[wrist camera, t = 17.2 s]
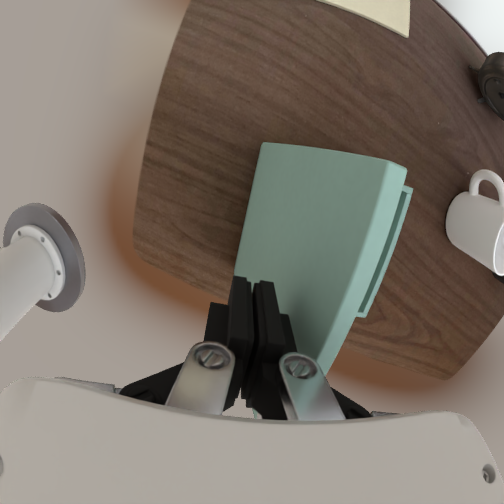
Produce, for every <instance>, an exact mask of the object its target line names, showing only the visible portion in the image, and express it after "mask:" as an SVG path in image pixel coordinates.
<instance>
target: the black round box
mask: <svg viewBox="0 0 504 504" xmlns="http://www.w3.org/2000/svg"><path fill="white" fill-rule="evenodd" d="M492 273H493V275H494V277H495V278H497V279H498V280H499V281H501V282H502V283H504V275H503V276H500V275H497V274H496V273H495V272H493V271H492Z"/></svg>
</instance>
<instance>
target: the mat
mask: <svg viewBox="0 0 504 504" xmlns="http://www.w3.org/2000/svg"><path fill="white" fill-rule="evenodd" d="M317 1H320V2H323V3H326V4H330V5H332V6H335V7H338V8H341V9H344V10H346V11H349V12H351V13H354V14H356V15H359V16H361V17H364V18H366V19H368V20H371V21H373V22H375V23H377V24H379V25H381V26H383V27H385V28H388V29H390V30H391V31H393V32H395V33H397V34H399V35H401V36H403V37H405V38H408V37H409V20H410V0H317Z"/></svg>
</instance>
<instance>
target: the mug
mask: <svg viewBox="0 0 504 504" xmlns="http://www.w3.org/2000/svg"><path fill="white" fill-rule="evenodd" d="M481 180H488V181H490V182H491V183H493V184H494V186H495V187H496V189H497V191H498V194H499V202H498V201H495V200H493V199H490V198H487V197H485V196H482V195H479V194H478V186H479V183H480V181H481ZM446 232H447V236H448V238H449V240H450V241H451V243H452V244H453V245H455V246H456V247H457V248H459V249H460V250H462V251H464V252H465V253H467V254H468V255H470V256H471V257H473V258H474V259H476V260H477V261H479V262H480V263H482V264H483V265H485V266H486V267H488V268H489V269H490V270H492V271H493V272H495V273H496V274H497V275H500V276H503V275H504V182H503V181H502V179H501V178H500V177H499V176H498V175H497V174H496V173H494V172H492V171H490V170H485V169H482V170H479V171H477V172H476V173H474V175H473V176H472V178H471V181H470V185H469V192H462V193H460V194H459V195H457V196H456V197H455V198H454V200H453V201H452V203H451V204H450V206H449V209H448V212H447V216H446Z"/></svg>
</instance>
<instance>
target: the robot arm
mask: <svg viewBox="0 0 504 504" xmlns="http://www.w3.org/2000/svg"><path fill="white" fill-rule="evenodd" d="M65 278H66V275H65V266H64V262H63V259H62V256H61V253H60V251H59V249H58V247H57V245H56V244H55V242H54V240H53V239H52V238H51V237H50V236H49V234H48V233H46V232H45V231H44V230H43V229H41V228H40V227H38V226H35V225H29V224H28V225H24V226H22V227H20V228H19V229H17V230H16V231H15V233H14V234H13V236H12V239H11V243H10V245H9V246H7V247H3V248H0V342H1V341H2V339H3V338H4V337H5V336H6V335H7V333H8V332H9V331H10V330H11V329H12V328H13V327H14V326H15V325H16V324H17V323H18V321H19V320H20V319H21V318H22V317H23V316H24V315H25V314H26V313H27V312H28V311H29V310H30V309H31V308H32V307H33V306H34V305H35V304H36V303H37V302H38V301H39V300H40V299H42V300H51V299H54V298H55V297H57V296H58V295H59V294H60V293H61V291H62V290H63V288H64V284H65ZM240 388H241V399H246V407H248V408H253V409H254V410H255V411H256V412H258V414H257V419H252V418H241V417H231V416H223V415H222V412H223V411H225V410H227V409H228V408H230V407H231V406H233V405H234V401H235V399H236V398H238V395H239V391H240ZM0 504H504V482H503V479H502V477H501V474H500V472H499V470H498V468H497V465H496V463H495V461H494V459H493V457H492V455H491V453H490V451H489V449H488V447H487V445H486V443H485V441H484V439H483V438H482V436H481V435H480V433H479V431H478V430H477V428H476V427H475V425H474V424H473V423H472V421H471V420H470V419H469V418H468V417H466V416H464V415H462V414H459V413H455V412H450V411H439V410H434V411H421V412H413V413H404V414H397V413H386V412H376V411H372V412H371V413H369V412H368V411H367V410H366V409H365V408H363V407H362V406H360V405H358V404H357V403H355V402H354V401H352V400H350V399H349V398H347V397H346V396H344V395H342V394H341V393H339V392H338V391H336V390H335V389H333V388H332V387H330V385H329V384H328V381H327V379H326V377H325V375H324V373H323V371H322V369H321V367H320V365H319V364H318V363H317V361H316V360H314V359H313V358H312V357H310V356H308V355H306V354H303V353H299V352H297V347H296V343H295V339H294V335H293V331H292V327H291V323H290V319H289V315H288V314H282V313H280V311H279V306H278V301H277V296H276V292H275V287H274V282H270V281H264V280H260V282H259V283H256V282H255V283H254V286H253V290H252V286H251V282H250V281H247V277H241V276H235V275H234V276H233V280H232V285H231V290H230V295H229V300H228V305H224V304H219V303H213V302H211V303H210V308H209V314H208V319H207V325H206V330H205V336H204V341H203V342H200V343H197V344H195V345H194V346H193V347H192V348H191V349H190V351H189V353H188V355H187V357H186V360H185V362H183V363H181V364H179V365H176V366H174V367H171V368H169V369H166V370H164V371H162V372H159V373H157V374H154V375H152V376H149V377H147V378H144V379H142V380H139V381H136V382H134V383H131V384H129V385H127V386H125V387H124V388H123V389H121V388H115V386H114V385H112V384H104V383H96V382H88V381H82V380H76V379H70V378H65V377H56V378H44V377H28V378H22V379H19V380H16V381H14V382H12V383H11V384H9V385H8V386H7V387H6V388H5V389H4V390H3V391H2V392H1V393H0Z"/></svg>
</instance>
